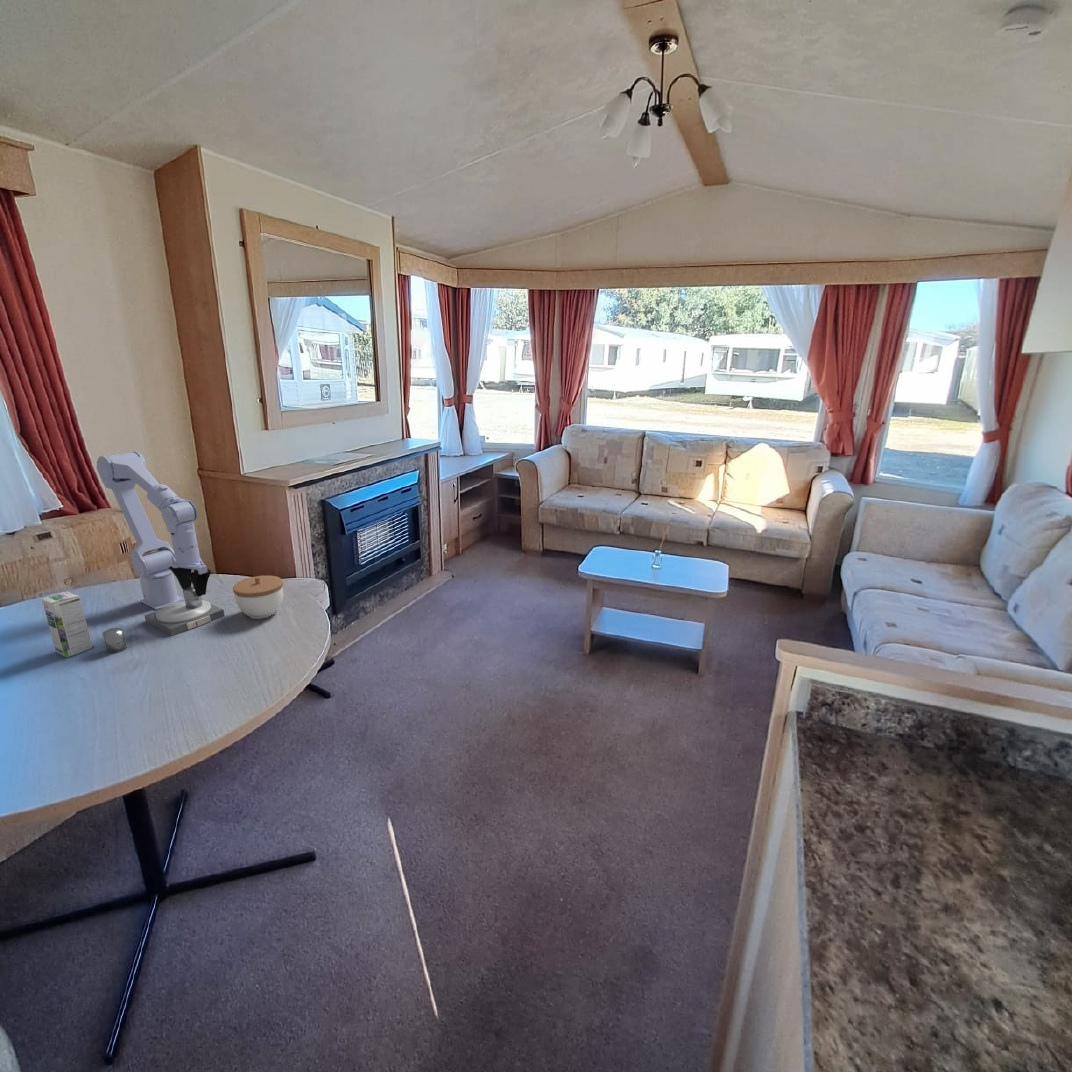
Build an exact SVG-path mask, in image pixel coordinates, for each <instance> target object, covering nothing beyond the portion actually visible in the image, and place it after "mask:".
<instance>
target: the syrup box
mask: <svg viewBox="0 0 1072 1072" xmlns="http://www.w3.org/2000/svg"><path fill="white" fill-rule="evenodd" d="M41 602H42V605H43V609H44V611H45V612H44V613H45V616H46V621H47V624H48V628H49V632H50V636H51V640H52V643H53V646H54V650H55V653H57V654H59V655H62V656H63V657H65V658H69V657H73V656H74V655H78V654H80V653H83V652H85V651H88V650H90V649H92V648H93V645H92V644H93V643H92V640H91V636H90V631H89V628H88V627H89V626H88V625H87V621H86V620H87V619H86V616H85V611H84V608H83V605H82V599H81V596H80V595H77V594H76V593H73V592H70V591H68V590H67V591H63V592H59V593H55V594H51V595H48V596H46V597H43V598H42V599H41Z"/></svg>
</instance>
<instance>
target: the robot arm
mask: <svg viewBox="0 0 1072 1072" xmlns="http://www.w3.org/2000/svg"><path fill="white" fill-rule="evenodd" d="M96 470H97V472H98V474H99V476H100V479H101V481H102V483H103V486H104V488H106V489H110V490H111V491H112V493H113V495H114V497H115V500H116V502H117V504H118V506H119V508H120V510H121V512H122V514H123V516H124V519H125V521H126V524H127V526H128V527H129V530H130V531H131V533H132V536H133V538H134V540H135V543H136V545H135V547H134V548H133V550H132V551H131V553H130V554H129V556H130V559H131V562H132V569H133V571H134V572H135V574H136V575H137V576H139V577H140V579H139V583H140V587H141V588H140V589H141V593H142V599H141V600H140V602H141V603H143V605H144V604H145V605H146V606H148V607H151V608H152V609H154V610H160V609H161V608H163V607H165V606H167V605H170V604H173V603H176V602H180V601H185V600H184V597H182V596H181V595H180V596H179V595H178V590H177V586H176V585H177V584H176V580H175V578H176V579H177V581H178V583H179V585H180V587H181V589H182V591H183V590H184V589H186V588H189V587H194V590H195V593H196V595H197V596H198V597H199V596H201V597H202V596H204V595H206V594H207V588H208V582H209V578H210V576H211V573H212V570H211V569H209V568H208V567H207V565H206V564H205V563H204V561H203V560H202V558H201V555H200V551H199V550H200V549H199V546H198V545H199V544H198V540H197V534H196V528H195V527H196V526H195V521H196V520H197V519H198V511H197V508H196V505H194V503H193V502H192V501H191V500H189V499H184V498H180V496H178V494H176V492H175V491H174V490H172V489H171V488H170V487H169V486H168V485H166V484H162V483H161V484H160V483H159V482H158V481H157V479H156V478H155V477H154V476H153V475H152V473H150V471H149V470H148V469H147V462H146V459H145V458H144V456H143V455H142V454H141V453H140V452H139V451H131V452H124V453H117V454H111V455H100V456H99V457H98V458H97V461H96ZM136 485H138V486H139V487H140V488H141V489H142V490H143V491H145V492H146V493H147V494H146V497H147V500H148V501H149V502H150V503H151V504H153V506H154V507H155V508H156V509H157V510H158V511H159V512H160V513H161V514H160V515H161V517H162V521H163V522H164V523H165V527H166V530H167V532H168V533H170V539H171V542H172V543H171V544H172V547H171V544H170V543H169V542H167V541H165V540H161V539H158V537H157V535H156V533H155V531H154V529H153V526H152V524H151V522H150V519H149V518H148V515H147V513H146V511H145V508H144V506H143V504H142V503H141V499H140V498H139V496H138V493H137V491H136V488H135V487H136Z"/></svg>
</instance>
